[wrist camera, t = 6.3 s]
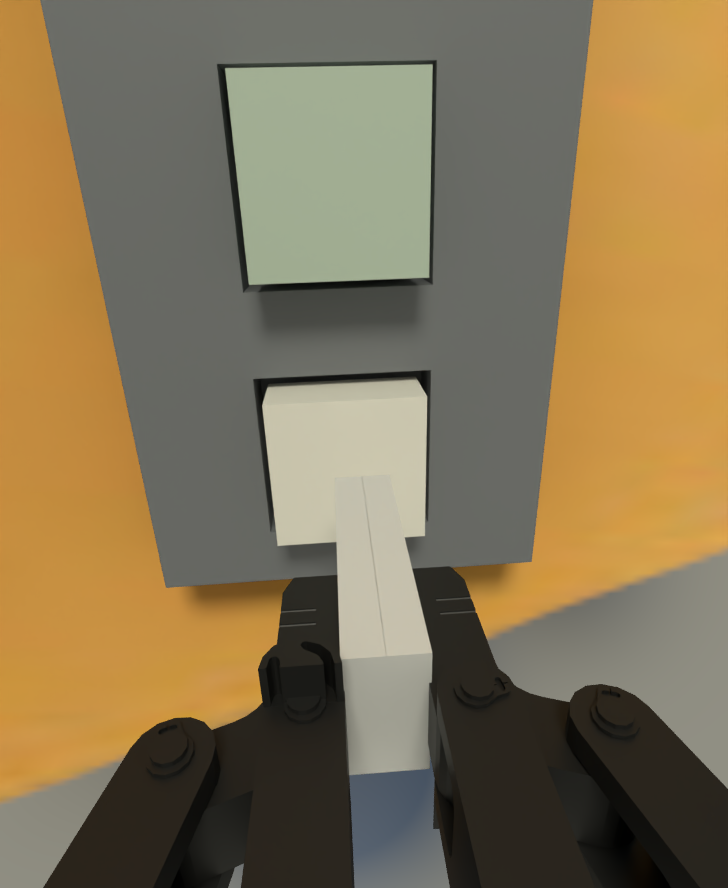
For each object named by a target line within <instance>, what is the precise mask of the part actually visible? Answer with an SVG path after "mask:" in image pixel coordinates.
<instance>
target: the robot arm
mask: <svg viewBox="0 0 728 888" xmlns="http://www.w3.org/2000/svg"><path fill="white" fill-rule="evenodd" d="M335 508H336V541H337V574H338V575H327V576H312V577H296V578H293V580H292V581H291V582H290V584H289V585H288V587H287V588H286V589H285V591H284V592H283V597H282V606H281V614H280V623H279V632H278V640H277V645H275V646H273V647H272V648H271V649H270V650H269V651H268V652H267V653H266V654H265V655H264V656H263V658H262V660H261V663H260V665H259V668H258V672H259V679H260V686H261V694H262V701H263V703H262V704H261V705H260V706H259V707H258V708H257V709H256V710H254V711H253V712H252V713H250V714H249V715H247V716H246V717H244V718H242V719H239V720H237V721H235V722H233V723H230V724H227V725H225V726H222V727H219V728H216V729H214V730H211V729H210V728H209V727H208V726H207V725H206V724H205V722H202V721H200V720H197V719H194V718H191V717H189V718H174V719H171V720H168V721H165V722H162V723H159V724H157V725H156V726H154V727H153V728H151V729H150V730H148V731H147V732H145V733H144V734H142V736H141V737H140V738H139V739H138V740H137V741H136V743H135V744H134V745H133V746H132V747H131V748H130V750H129V752H128V753H127V755H126V756H125V758H124V760H123V761H122V763H121V764H120V766H119V768H118V769H117V771H116V772H115V774H114V776H113V777H112V779H111V781H110V782H109V783H108V785H107V787H106V788H105V790H104V792H103V793H102V795H101V796H100V798H99V800H98V801H97V803H96V804H95V806H94V807H93V809H92V811H91V812H90V814H89V815H88V817H87V819H86V820H85V822H84V823H83V825H82V827H81V828H80V830H79V831H78V833H77V835H76V836H75V838H74V839H73V841H72V843H71V844H70V846H69V847H68V849H67V851H66V852H65V854H64V855H63V857H62V859H61V861H60V862H59V863H58V865H57V867H56V868H55V870H54V871H53V873H52V875H51V876H50V878H49V879H48V881H47V883H46V884H45V886H44V887H43V888H228V886H229V883H230V880H231V877H232V874H233V872H234V868H235V867H237V866H239V865H241V864H243V863H244V868H243V876H242V884H241V888H354V867H353V843H352V822H351V821H352V820H351V801H350V783H349V775H358V774H370V773H382V772H395V771H407V770H419V769H429V768H430V756H431V762H432V766H433V772H434V777H435V788H434V823H433V827H434V829H440V835H441V840H442V846H443V851H444V856H445V862H446V868H447V873H448V879H449V884H450V888H728V789H727V788H726V787H725V786H724V784H723V783H722V782H720V780H719V779H718V778H717V777H716V776H715V775H714V774H713V773H712V772H711V771H710V770H709V769H708V768H707V767H706V766H705V765H704V764H703V763H702V762H701V760H700V759H699V758H698V757H697V756H696V755H695V754H694V753H693V752H692V751H691V750H690V749H689V748H688V747H687V746H686V745H685V744H684V743H683V742H682V741H681V740H680V739H679V737H677V736H676V734H674V732H673V731H672V730H671V729H670V728H669V727H668V726H667V725H666V724H665V723H664V722H663V721H662V720H661V719H660V718H659V717H658V716H657V715H656V713H655V712H654V711H653V710H652V709H651V708H650V707H649V706H647V705H646V704H645V703H644V702H643V701H641V700H640V699H639V698H637V697H636V696H635V695H633V694H631V693H629V692H627V691H624V690H622V689H620V688H618V687H613V686H608V685H603V684H598V685H590V686H585V687H583V688H582V689H580V690H578V691H576V692H575V693H574V695H573V697H572V699H571V700H570V702H565V701H560V700H555V699H550V698H545V697H541V696H537V695H534V694H530V693H528V692H526V691H524V690H522V689H520V688H518V687H516V686H515V685H514V684H513V683H512V681H511V679H510V678H509V677H508V676H507V675H506V674H505V673H503V672H502V671H501V670H499V669H498V667H497V665H496V663H495V660H494V658H493V655H492V653H491V650H490V647H489V644H488V642H487V639H486V636H485V634H484V631H483V628H482V626H481V623H480V620H479V618H478V615H477V613H476V611H475V607H474V604H473V602H472V599H471V598H470V594H469V591H468V589H467V586H466V583H465V581H464V579H463V578H462V577H461V576H460V575H459V574H458V573H457V572H455V571H454V570H453V569H452V568H451V567H450V566H444V567H429V568H413V569H412V566H411V562H410V558H409V554H408V550H407V545H406V541H405V537H404V533H403V529H402V525H401V520H400V516H399V512H398V508H397V504H396V500H395V496H394V491H393V487H392V483H391V479H390V475H375V476H357V477H339V478H335Z"/></svg>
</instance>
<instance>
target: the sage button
mask: <svg viewBox="0 0 728 888" xmlns="http://www.w3.org/2000/svg"><path fill="white" fill-rule="evenodd" d="M432 70H433V64H429V65H374V66H318V67H263V68H225V72H226V81H227V90H228V99H229V108H230V117H231V126H232V136H233V145H234V154H235V163H236V172H237V181H238V190H239V199H240V208H241V217H242V226H243V236H244V245H245V254H246V263H247V272H248V281H249V285H257V284H282V283H307V282H332V281H357V280H381V279H406V278H429V253H430V192H431V131H432Z"/></svg>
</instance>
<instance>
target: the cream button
mask: <svg viewBox="0 0 728 888" xmlns="http://www.w3.org/2000/svg"><path fill="white" fill-rule="evenodd" d="M262 408H263V417H264V426H265V435H266V444H267V454H268V463H269V472H270V481H271V490H272V499H273V508H274V517H275V526H276V535H277V544H278V546H283V545H298V544H313V543H328V542H337V541H336V508H335V478H339V477H357V476H375V475H390V479H391V483H392V487H393V491H394V496H395V500H396V504H397V508H398V512H399V516H400V520H401V525H402V529H403V533H404V537H417V536H425V497H426V436H427V395H426V394H425V392H424V390H423V389H422V387H421V385H420V383H419V382H418V380H417V378H416V376H415V377H395V378H376V379H356V380H336V381H316V382H297V383H277V384H268V387H267V391H266V394H265V397H264V401H263V404H262Z"/></svg>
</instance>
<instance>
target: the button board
mask: <svg viewBox="0 0 728 888" xmlns="http://www.w3.org/2000/svg"><path fill="white" fill-rule="evenodd" d="M40 1H41V5H42V10H43V15H44V19H45V24H46V29H47V33H48V38H49V43H50V47H51V52H52V57H53V61H54V66H55V71H56V75H57V80H58V85H59V89H60V94H61V99H62V103H63V108H64V113H65V118H66V122H67V127H68V132H69V136H70V141H71V146H72V150H73V155H74V160H75V164H76V169H77V174H78V178H79V183H80V188H81V192H82V197H83V202H84V206H85V211H86V216H87V220H88V225H89V230H90V234H91V239H92V244H93V248H94V253H95V258H96V262H97V267H98V272H99V277H100V281H101V286H102V291H103V295H104V300H105V305H106V309H107V314H108V319H109V323H110V328H111V333H112V337H113V342H114V347H115V351H116V356H117V361H118V365H119V370H120V375H121V379H122V384H123V389H124V393H125V398H126V403H127V407H128V412H129V417H130V422H131V426H132V431H133V436H134V440H135V445H136V450H137V454H138V459H139V464H140V468H141V473H142V478H143V482H144V487H145V492H146V496H147V501H148V506H149V510H150V515H151V520H152V524H153V529H154V534H155V538H156V543H157V548H158V552H159V557H160V562H161V567H162V571H163V576H164V581H165V585H166V588H169V587H183V586H197V585H211V584H225V583H239V582H253V581H268V580H282V579H293V578H296V577H312V576H327V575H338V574H337V542H328V543H313V544H298V545H283V546H278V544H277V535H276V526H275V517H274V508H273V499H272V490H271V481H270V472H269V463H268V454H267V444H266V435H265V426H264V417H263V408H262V404H263V401H264V397H265V394H266V391H267V387H268V384H277V383H297V382H316V381H336V380H356V379H376V378H395V377H415V376H416V378H417V380H418V382H419V383H420V385H421V387H422V389H423V390H424V392H425V394H426V395H427V436H426V497H425V536H417V537H405V541H406V545H407V550H408V554H409V558H410V562H411V566H412V569H413V568H429V567H444V566H450V567H465V566H479V565H493V564H507V563H521V562H532V553H533V544H534V535H535V526H536V517H537V508H538V498H539V489H540V480H541V471H542V462H543V453H544V444H545V435H546V426H547V417H548V407H549V398H550V389H551V380H552V371H553V362H554V353H555V344H556V335H557V326H558V316H559V307H560V298H561V289H562V280H563V271H564V262H565V253H566V244H567V234H568V225H569V216H570V207H571V198H572V189H573V180H574V171H575V162H576V153H577V143H578V134H579V125H580V116H581V107H582V98H583V89H584V80H585V71H586V61H587V52H588V43H589V34H590V25H591V16H592V7H593V0H40ZM429 64H433V70H432V131H431V192H430V253H429V278H406V279H381V280H357V281H332V282H307V283H282V284H257V285H249V281H248V272H247V263H246V254H245V245H244V236H243V226H242V217H241V208H240V199H239V190H238V181H237V172H236V163H235V154H234V145H233V136H232V126H231V117H230V108H229V99H228V90H227V81H226V72H225V68H263V67H318V66H374V65H429Z"/></svg>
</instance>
